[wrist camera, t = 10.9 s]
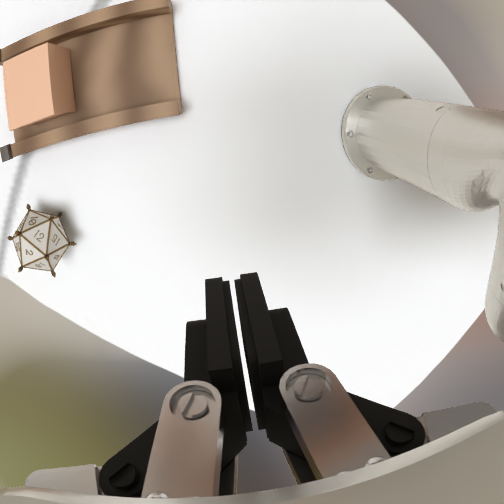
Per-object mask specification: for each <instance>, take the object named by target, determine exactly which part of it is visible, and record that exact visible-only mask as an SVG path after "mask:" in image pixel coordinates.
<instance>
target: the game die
mask: <svg viewBox="0 0 504 504" xmlns="http://www.w3.org/2000/svg"><path fill="white" fill-rule="evenodd" d="M30 208H31V207H30V205H29V204H27V209H28V212H27V214H26V216H25V217H24V219H23V221H22V222H21V224H20V226H19V227H18V229H17V231H16V232H15V234H14V236H13V237H12V236H9V237H8V239H9V240H13V242H14V245H15V248H16V251H17V254H18V257H19V260H20V263H21V267H20V268H18V269H19V271H18V273H19V272H21V271H22V270H23V267H24V268H31V269H38V270H45V271H51V274H52V276H54V277H55V274H56V273H55V272H54V268H55V267H56V265H57V263H58V262H59V260H60V259H61V257H62V255H63V254H64V252H65V251H66V249H67V248H68V246H69V245H71V246H72V245H73V246H74V245H75V244H76V243H75V242H74V241H73V242H69V240H68V237H67V235H66V233H65V230H64V228H63V226H62V223H61V221H60V218H59V217H61V216H62V212H61V213H59V214H58V216H55V215H54V214H52V215H51V214H47V213H42V212H38V211H34V210H31V209H30Z"/></svg>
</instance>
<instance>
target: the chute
mask: <svg viewBox="0 0 504 504" xmlns="http://www.w3.org/2000/svg"><path fill="white" fill-rule="evenodd" d="M47 42H48V43H51V44H55V45H58V46H61V47H64V48H67V49H70V59H71V71H72V82H73V91H74V100H75V107H76V112H73V113H70V114H67V115H63V116H60V117H57V118H54V119H51V120H48V121H45V122H42V123H39V124H37V125H33V126H28V127H24V128H20V129H16V130H13V131H14V137H15V143H14V144H11V145H10V144H9V145H6V146H3V147H1V148H0V152H1V157H2V162H5V161H7V160H10V159H12V158H13V157H16V156H18V155H21V154H24V153H27V152H30V151H33V150H36V149H39V148H42V147H45V146H48V145H51V144H55V143H58V142H61V141H65V140H68V139H71V138H75V137H79V136H82V135H86V134H90V133H94V132H98V131H102V130H106V129H110V128H114V127H119V126H123V125H128V124H132V123H137V122H142V121H147V120H152V119H158V118H163V117H169V116H175V115H180V114H182V107H181V98H180V89H179V80H178V71H177V61H176V50H175V40H174V28H173V16H172V4H171V1H170V0H133V1H129V2H125V3H121V4H117V5H114V6H110V7H106V8H103V9H100V10H96V11H93V12H90V13H87V14H84V15H81V16H78V17H75V18H72V19H69V20H66V21H64V22H61V23H59V24H56V25H53V26H51V27H48V28H46V29H44V30H41V31H39V32H37V33H34V34H32V35H30V36H28V37H25V38H23V39H21V40H19V41H17V42H15V43H13V44H11V45H9V46H7V47H5V48H3V49H0V65H2V66H3V62H5V61H7V60H9V59H11V58H13V57H15V56H17V55H20V54H22V53H24V52H26V51H28V50H31V49H33V48H35V47H38V46H40V45H42V44H45V43H47Z"/></svg>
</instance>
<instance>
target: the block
mask: <svg viewBox="0 0 504 504" xmlns="http://www.w3.org/2000/svg"><path fill="white" fill-rule="evenodd" d="M3 74H4V88H5V99H6V108H7V116H8V123H9V130H10V131H11V130H16V129H20V128H24V127H28V126H33V125H37V124H39V123H42V122H45V121H48V120H51V119H54V118H57V117H60V116H63V115H67V114H70V113H73V112H76V107H75V100H74V91H73V82H72V71H71V59H70V49H67V48H64V47H61V46H58V45H55V44H51V43H48V42H47V43H45V44H42V45H40V46H38V47H35V48H33V49H31V50H28V51H26V52H24V53H22V54H20V55H17V56H15V57H13V58H11V59H9V60H7V61H5V62H3Z"/></svg>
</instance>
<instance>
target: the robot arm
mask: <svg viewBox="0 0 504 504" xmlns="http://www.w3.org/2000/svg"><path fill="white" fill-rule="evenodd" d="M366 95H367V98H366ZM402 98H403V99H402ZM348 132H349V135H347V133H348ZM342 140H343V146H344V148H345V151H346V154H347V156H348V157H349V159H350V161H351V162H352V164H353V165H354V166H355V167H356V168H357V169H358V170H359V171H361V172H362V173H363V174H365V175H367V176H369V177H371V178H374V179H377V180H393V179H397V178H400V179H402V180H404V181H406V182H409V183H411V184H413V185H414V186H416V187H418V188H420V189H422V190H424V191H426V192H428V193H430V194H432V195H434V196H436V197H438V198H439V199H441V200H443V201H445V202H447V203H449V204H451V205H453V206H454V207H457V208H459V209H461V210H465V211H471V212H478V211H483V210H487V209H490V208H492V207H495V206H497V205H499V207H500V213H499V224H498V235H497V241H496V247H495V253H494V258H493V263H492V268H491V272H490V277H489V282H488V287H487V292H486V299H485V312H486V318H487V321H488V323H489V326H490V328H491V329H492V331H493V332H494V333H495V335H496V336H497V337H498V338H499V339H500V340H501V341H503V342H504V111H499V110H491V109H484V108H478V107H471V106H464V105H458V104H450V103H442V102H433V101H424V100H412V99H411V97H410V96H409V95H407V94H406V93H404V92H403V91H401V90H399V89H397V88H394V87H389V86H377V87H371V88H369V89H366V90H364V91H362V92H361V93H359V94H358V95H357V96H356V97H355V98H354V99H353V100H352V101H351V103H350V104H349V106H348V108H347V110H346V112H345V115H344V118H343V123H342ZM367 169H368V170H367ZM240 278H241V279H237V280H234V281H235V289H236V296H237V303H238V310H239V317H240V324H241V331H242V338H243V345H244V351H245V357H246V363H247V368H248V374H249V380H250V385H251V391H252V396H253V402H254V407H255V412H256V418H257V424H258V429H259V430H261V429H266V433H267V438H269V441H271V442H273V443H275V444H277V445H278V446H280V447H282V450H283V453H284V456H285V458H286V460H287V462H288V464H289V467H290V469H291V471H292V473H293V476H294V478H295V480H296V482H297V484H298V485H294V486H289V487H284V488H278V489H273V490H266V491H260V492H252V493H246V494H236V490H237V469H238V468H237V467H238V456H237V454H238V453H239V452H240V451H241V450H242V449H243V448H244V447H245V446H246V445H247V442H246V441H247V436H246V432H248V431H253V429H252V423H251V417H250V411H249V405H248V399H247V393H246V387H245V381H244V375H243V368H242V362H241V356H240V349H239V343H238V337H237V330H236V324H235V317H234V311H233V304H232V297H231V291H230V284H229V281H223V280H222V277H219V278H212V279H205V295H206V319H205V320H197V321H189V322H187V324H186V343H185V372H184V383H181V384H178V385H177V386H175V387H174V388H172V389H171V390H170V391H169V392H168V393H167V395H166V397H165V399H164V402H163V406H162V410H161V414H160V418H159V420H158V421H157V422H156V423H154V424H153V425H152V426H151V427H150V428H148V429H147V430H146V431H145V432H143V433H142V434H141V435H140V436H139V437H137V438H136V439H135V440H133V441H132V442H131V443H130V444H128V445H127V446H126V447H125V448H123V449H122V450H121V451H119V452H118V453H117V454H116V455H114V456H113V457H112V458H110V459H109V460H108V461H107V462H106V463H105V464H104V465H103V466H99V467H97V466H95V464H90V465H83V466H75V467H65V468H56V469H55V468H54V469H42V470H37V471H34V472H33V473H31V474H30V475H29V476H28V478H27V479H26V482H25V487H11V488H3V489H0V504H504V410H503V411H499V412H497V411H496V410H495V408H494V407H493V406H491V405H490V404H489V403H485V402H474V403H469V404H465V405H461V406H457V407H451V408H447V409H441V410H436V411H431V412H425V413H422V415H421V416H420V417H414V416H412V415H409V414H408V413H405V412H402V411H399V410H396V409H393V408H390V407H387V406H384V405H381V404H378V403H376V402H373V401H370V400H367V399H365V398H362V397H359V396H357V395H354V394H351V393H349V392H346V390H345V389H344V387H343V386H342V384H341V383H340V381H339V380H338V378H337V377H336V375H335V374H334V373H333V372H332V371H331V370H330V369H328V368H326V367H324V366H322V365H318V364H309V363H308V360H307V358H306V355H305V352H304V350H303V347H302V344H301V342H300V339H299V336H298V334H297V331H296V329H295V326H294V323H293V321H292V318H291V316H290V313H289V311H288V308H280V309H274V310H268V307H267V304H266V301H265V297H264V294H263V291H262V287H261V284H260V281H259V277H258V274H257V272H255V273H248V274H241V275H240Z"/></svg>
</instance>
